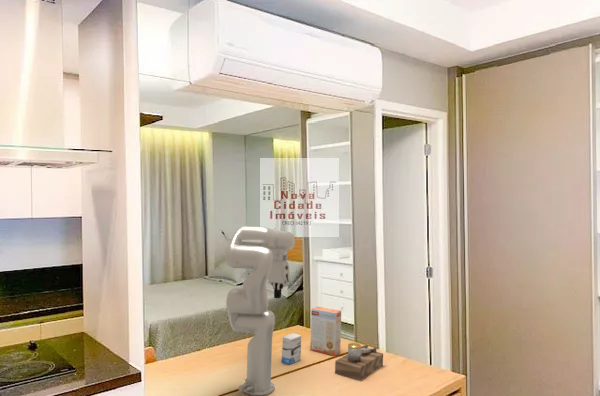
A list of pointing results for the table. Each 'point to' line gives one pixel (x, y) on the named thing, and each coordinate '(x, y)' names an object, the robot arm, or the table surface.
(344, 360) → the block
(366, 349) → the keeper bar
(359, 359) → the gold-lidded jar
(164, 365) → the table surface
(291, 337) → the ink box
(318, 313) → the cracker box
